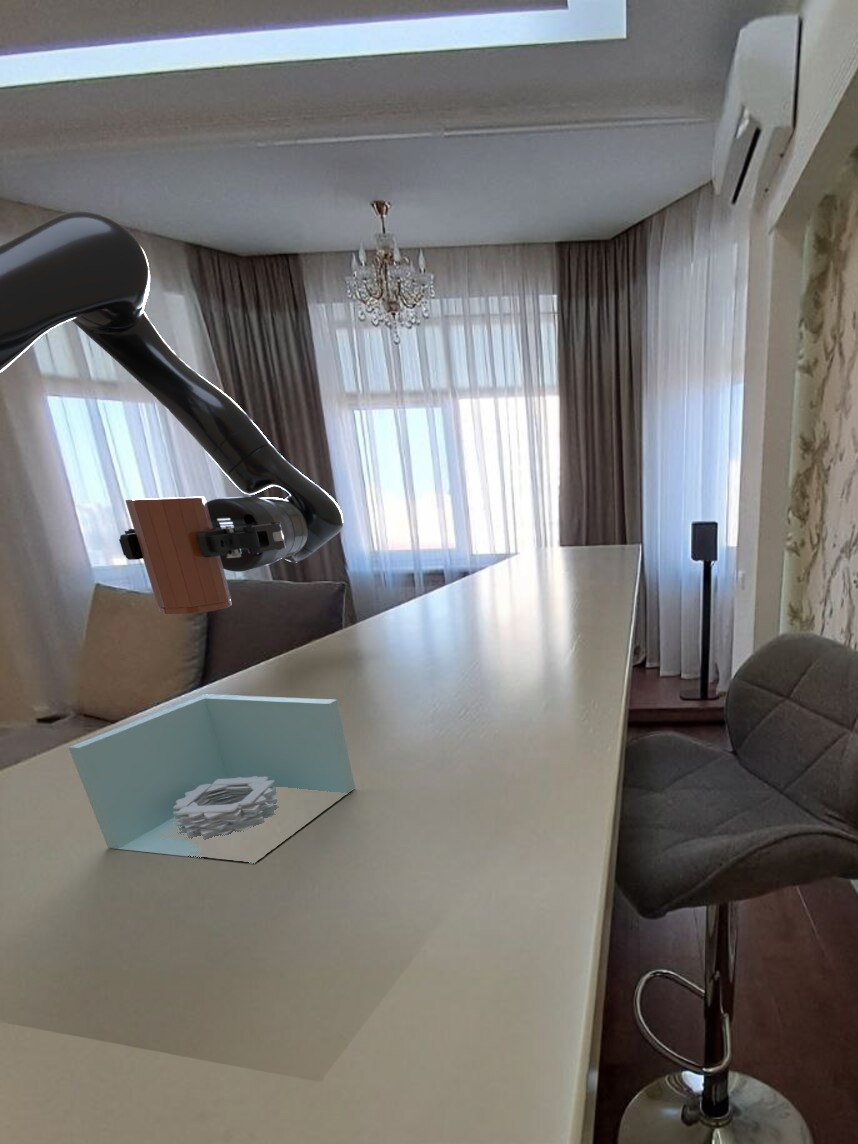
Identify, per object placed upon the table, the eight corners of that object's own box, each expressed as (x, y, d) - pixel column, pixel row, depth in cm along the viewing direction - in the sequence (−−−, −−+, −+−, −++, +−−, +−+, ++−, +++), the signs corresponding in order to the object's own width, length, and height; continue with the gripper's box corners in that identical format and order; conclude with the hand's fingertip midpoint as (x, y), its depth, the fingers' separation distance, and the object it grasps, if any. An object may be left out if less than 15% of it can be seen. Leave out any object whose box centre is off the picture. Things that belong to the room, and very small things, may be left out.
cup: (143, 614, 65) (108, 500, 61) (190, 602, 71) (161, 498, 67) (203, 614, 64) (171, 498, 60) (245, 602, 70) (219, 496, 66)
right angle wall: (107, 847, 47) (68, 747, 44) (230, 779, 58) (205, 694, 55) (255, 863, 45) (224, 757, 41) (355, 788, 55) (336, 699, 52)
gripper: (175, 499, 76) (72, 504, 61) (302, 494, 76) (231, 499, 61) (194, 569, 80) (101, 590, 64) (316, 565, 79) (252, 586, 64)
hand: (165, 546), depth 63 cm, fingers closed on cup, 6 cm apart
